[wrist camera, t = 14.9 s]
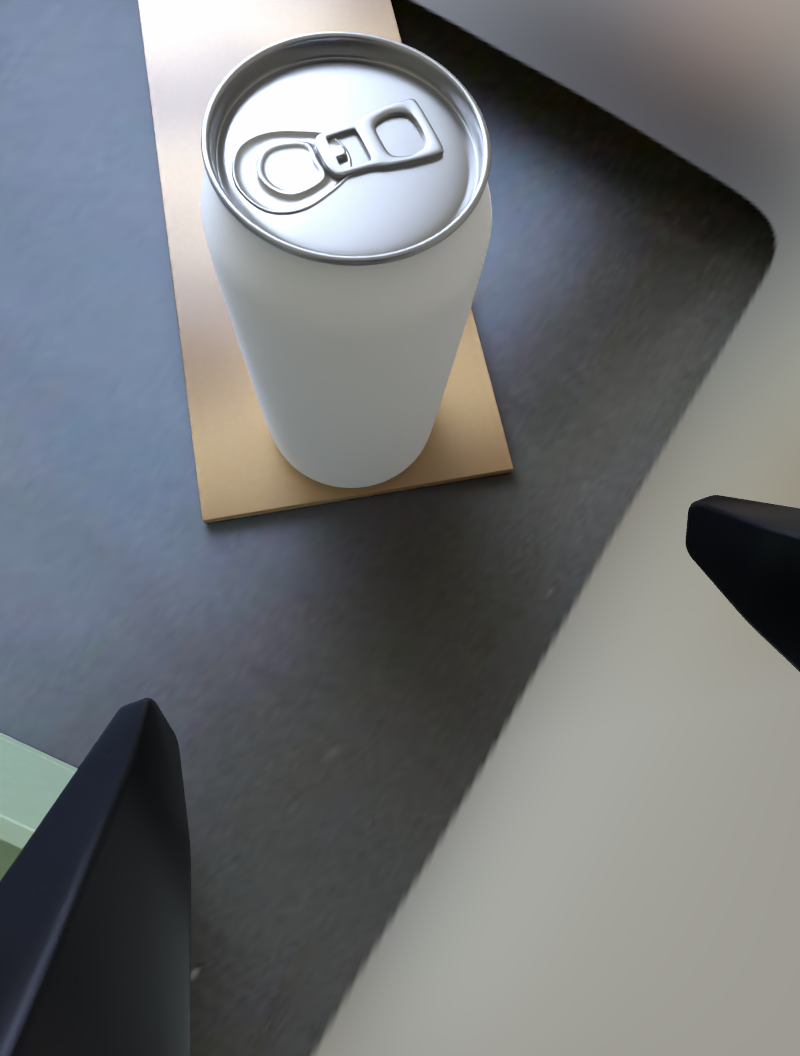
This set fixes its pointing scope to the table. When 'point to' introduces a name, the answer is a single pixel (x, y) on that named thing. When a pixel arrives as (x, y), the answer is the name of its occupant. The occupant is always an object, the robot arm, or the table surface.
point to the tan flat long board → (203, 319)
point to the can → (346, 242)
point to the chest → (25, 794)
